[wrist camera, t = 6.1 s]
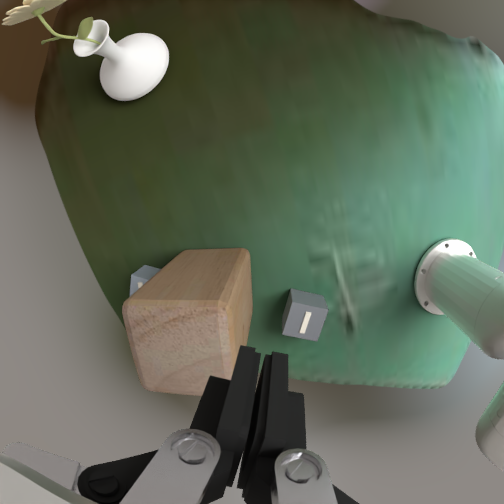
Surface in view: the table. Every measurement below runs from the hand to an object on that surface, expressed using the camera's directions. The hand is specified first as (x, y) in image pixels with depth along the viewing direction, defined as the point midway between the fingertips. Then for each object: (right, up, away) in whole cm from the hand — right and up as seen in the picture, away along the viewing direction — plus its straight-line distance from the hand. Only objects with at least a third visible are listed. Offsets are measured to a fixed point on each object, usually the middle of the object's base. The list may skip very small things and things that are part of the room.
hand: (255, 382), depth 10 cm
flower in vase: (-18, +32, +27) cm, 46 cm away
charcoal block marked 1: (+7, -4, +34) cm, 35 cm away
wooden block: (-5, 0, +34) cm, 35 cm away
